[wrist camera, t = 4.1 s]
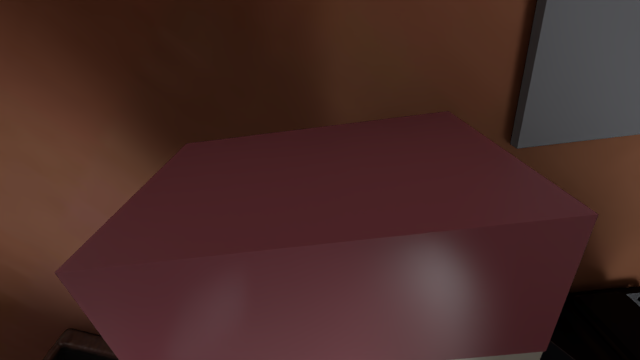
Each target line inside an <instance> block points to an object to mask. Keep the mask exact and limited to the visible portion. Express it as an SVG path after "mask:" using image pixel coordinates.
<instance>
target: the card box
mask: <svg viewBox="0 0 640 360" xmlns="http://www.w3.org/2000/svg"><path fill="white" fill-rule="evenodd" d="M597 217H598V214H597V213H596V212H594V211H593V210H591V209H590V208H588V207H587V206H586V205H584V204H583V203H581V202H580V201H578V200H577V199H575V198H574V197H572V196H571V195H570V194H568V193H567V192H565V191H564V190H562V189H561V188H559V187H558V186H556V185H555V184H554V183H552V182H551V181H549V180H548V179H546V178H545V177H543V176H542V175H540V174H539V173H538V172H536V171H535V170H533V169H532V168H530V167H529V166H527V165H526V164H524V163H523V162H522V161H520V160H519V159H517V158H516V157H514V156H513V155H511V154H510V153H509V152H507V151H506V150H504V149H503V148H501V147H500V146H498V145H497V144H495V143H494V142H493V141H491V140H490V139H488V138H487V137H485V136H484V135H482V134H481V133H479V132H478V131H477V130H475V129H474V128H472V127H471V126H469V125H468V124H466V123H465V122H463V121H462V120H461V119H459V118H458V117H456V116H455V115H453V114H452V113H450V112H449V111H446V112H438V113H430V114H421V115H413V116H405V117H397V118H389V119H381V120H373V121H365V122H357V123H349V124H341V125H332V126H324V127H316V128H308V129H300V130H292V131H284V132H276V133H268V134H260V135H252V136H244V137H235V138H227V139H219V140H211V141H203V142H195V143H187V144H185V145H184V146H183V147H182V148H181V149H180V150H179V151H178V152H177V153H176V154H175V155H174V156H173V157H172V158H171V159H170V160H169V161H168V162H167V163H166V164H165V165H164V166H163V167H162V168H161V169H160V170H159V171H158V172H157V173H156V174H155V175H154V176H153V177H152V178H151V179H150V180H149V181H148V182H147V183H146V184H145V185H144V186H143V187H142V188H141V189H140V190H138V191H137V192H136V193H135V194H134V195H133V196H132V197H131V198H130V199H129V200H128V201H127V202H126V203H125V204H124V205H123V206H122V207H121V208H120V209H119V210H118V211H117V212H116V213H115V214H114V215H113V216H112V217H111V218H110V219H109V220H108V221H107V222H106V223H105V224H104V225H103V226H102V227H101V228H100V229H99V230H98V231H97V232H96V233H95V234H94V235H93V236H92V237H91V238H89V239H88V240H87V241H86V242H85V243H84V244H83V245H82V246H81V247H80V248H79V249H78V250H77V251H76V252H75V253H74V254H73V255H72V256H71V257H70V258H69V259H68V260H67V261H66V262H65V263H64V264H63V265H62V266H61V267H60V268H59V269H58V270H57V271H56V272H55V274H56V275H57V277H58V278H59V279H60V281H61V282H62V283H63V285H64V286H65V287H66V289H67V290H68V292H69V293H70V294H71V296H72V297H73V298H74V300H75V301H76V302H77V304H78V305H79V306H80V308H81V309H82V310H83V312H84V313H85V315H86V316H87V317H88V319H89V320H90V321H91V323H92V324H93V325H94V327H95V328H96V329H97V331H98V332H99V334H100V335H101V336H102V338H103V339H104V340H105V342H106V343H107V344H108V346H109V347H110V348H111V350H112V351H113V353H114V354H115V355H116V357H117V358H118V359H119V360H540V358H541V355H542V353H543V352H544V351H546V350H547V347H548V344H549V342H550V339H551V337H552V334H553V331H554V329H555V326H556V324H557V321H558V318H559V316H560V313H561V311H562V308H563V305H564V303H565V300H566V298H567V295H568V292H569V290H570V287H571V285H572V282H573V279H574V277H575V274H576V272H577V269H578V266H579V264H580V261H581V259H582V256H583V253H584V251H585V248H586V246H587V243H588V240H589V238H590V235H591V233H592V230H593V227H594V225H595V222H596V220H597Z"/></svg>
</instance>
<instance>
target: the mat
mask: <svg viewBox="0 0 640 360" xmlns="http://www.w3.org/2000/svg"><path fill="white" fill-rule="evenodd" d="M637 134H640V0H537V5H536V10H535V16H534V21H533V26H532V32H531V37H530V42H529V47H528V53H527V58H526V63H525V69H524V74H523V79H522V85H521V90H520V95H519V100H518V106H517V111H516V116H515V122H514V127H513V132H512V137H511V143H510V144H511V145H512V146H514V147H516V148H525V147H534V146H543V145H551V144H560V143H568V142H577V141H585V140H594V139H603V138H611V137H620V136H628V135H637Z"/></svg>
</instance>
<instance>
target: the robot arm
mask: <svg viewBox="0 0 640 360" xmlns="http://www.w3.org/2000/svg"><path fill="white" fill-rule="evenodd" d="M540 360H640V287H629V288H619V289H608V290H598V291H587V292H577V293H568V295H567V298H566V300H565V303H564V305H563V308H562V311H561V313H560V316H559V318H558V321H557V324H556V326H555V329H554V331H553V334H552V337H551V339H550V342H549V344H548V347H547V350H546V351H544V352H543V353H542V355H541V358H540Z"/></svg>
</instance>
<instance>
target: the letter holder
mask: <svg viewBox="0 0 640 360" xmlns="http://www.w3.org/2000/svg"><path fill="white" fill-rule="evenodd" d="M43 360H119V359H118V358H117V357H116V355H115V354H114V353H113V351H112V350H111V348H110V347H109V346H108V344H107V343H106V342H105V340H104V339H103V338H102V336H99V335H94V334H90V333H87V332H83V331H79V330H75V329H67V330H66V331H65V332H64V333H63V334H62V335H61V336H60V338H59V339H58V340H57V341H56V343H55V345H54V346H53V347H52V348H51V349H50V351H49V352H48V353H47V355H46V356H45V357H44V359H43Z"/></svg>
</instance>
